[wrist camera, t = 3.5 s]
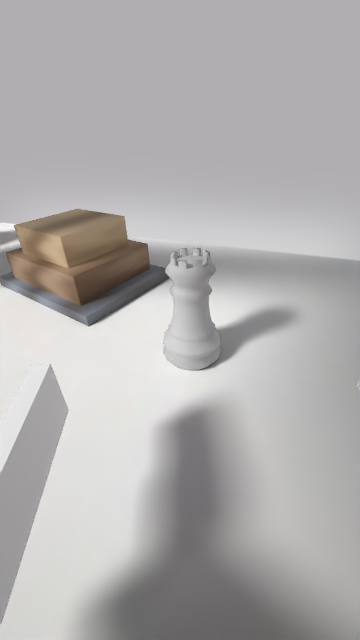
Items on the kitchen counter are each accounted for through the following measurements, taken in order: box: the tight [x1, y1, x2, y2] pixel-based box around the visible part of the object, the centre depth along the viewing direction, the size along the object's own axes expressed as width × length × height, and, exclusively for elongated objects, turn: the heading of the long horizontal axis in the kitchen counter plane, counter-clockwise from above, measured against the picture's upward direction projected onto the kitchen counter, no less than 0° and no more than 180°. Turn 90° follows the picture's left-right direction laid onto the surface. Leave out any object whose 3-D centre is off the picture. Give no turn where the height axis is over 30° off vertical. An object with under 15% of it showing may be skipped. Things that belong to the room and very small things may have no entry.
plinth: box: [0, 209, 169, 326], centre depth 32 cm, size 16×12×7 cm
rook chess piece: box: [163, 248, 221, 370], centre depth 20 cm, size 4×4×8 cm
